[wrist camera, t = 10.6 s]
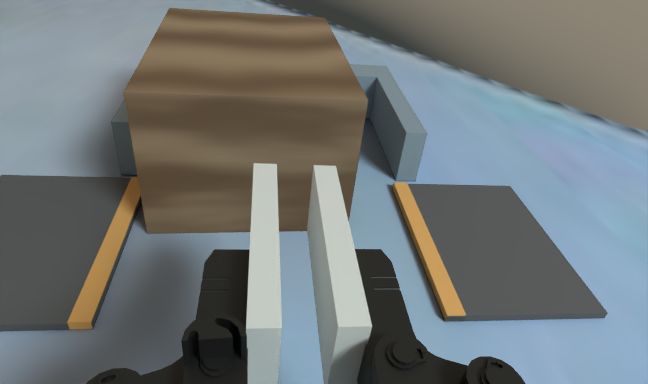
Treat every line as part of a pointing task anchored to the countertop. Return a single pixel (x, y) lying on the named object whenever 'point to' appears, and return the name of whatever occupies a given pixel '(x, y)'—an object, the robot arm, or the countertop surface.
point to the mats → (415, 203)
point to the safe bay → (383, 109)
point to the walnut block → (240, 117)
